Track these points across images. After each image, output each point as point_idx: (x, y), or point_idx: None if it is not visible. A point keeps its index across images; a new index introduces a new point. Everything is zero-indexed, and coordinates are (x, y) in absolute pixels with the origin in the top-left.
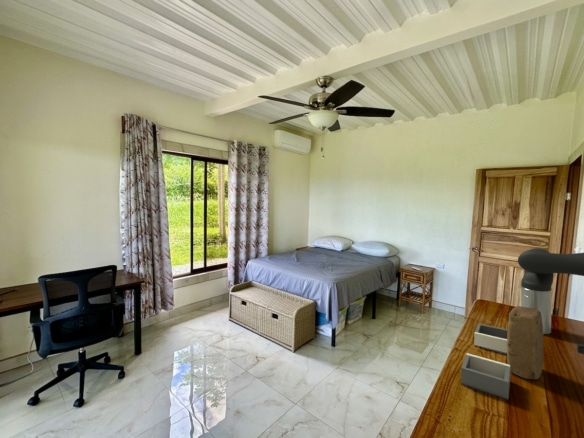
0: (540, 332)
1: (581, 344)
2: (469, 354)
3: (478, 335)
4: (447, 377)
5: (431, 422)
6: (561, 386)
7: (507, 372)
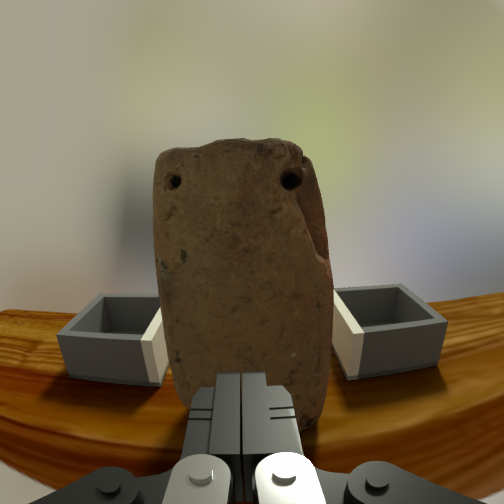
0: (232, 256)
1: (257, 382)
2: None
3: None
4: None
5: (11, 313)
6: None
7: (103, 336)
